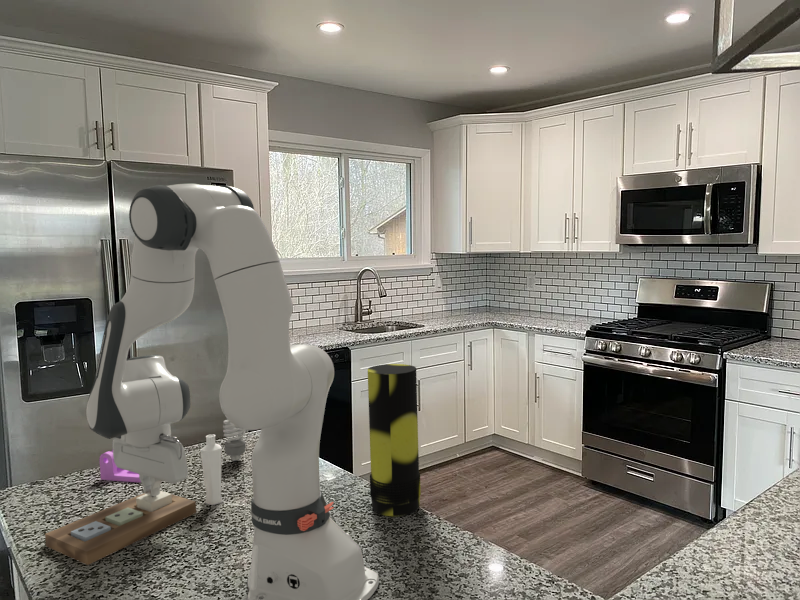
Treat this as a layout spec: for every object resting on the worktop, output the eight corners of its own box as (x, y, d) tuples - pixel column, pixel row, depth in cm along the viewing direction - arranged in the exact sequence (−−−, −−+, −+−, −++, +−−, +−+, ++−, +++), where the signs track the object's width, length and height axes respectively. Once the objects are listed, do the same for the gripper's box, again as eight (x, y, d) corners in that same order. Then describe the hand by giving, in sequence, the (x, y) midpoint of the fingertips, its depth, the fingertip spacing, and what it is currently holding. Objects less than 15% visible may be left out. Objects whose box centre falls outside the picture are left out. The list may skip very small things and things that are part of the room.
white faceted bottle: (219, 506, 131) (215, 439, 129) (200, 505, 132) (196, 438, 130) (229, 497, 135) (225, 432, 134) (211, 496, 136) (207, 432, 135)
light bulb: (234, 466, 154) (232, 421, 153) (220, 462, 158) (217, 418, 156) (251, 459, 159) (249, 415, 158) (236, 456, 162) (234, 413, 161)
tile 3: (111, 538, 116) (110, 526, 116) (86, 550, 112) (85, 537, 112) (96, 533, 119) (95, 520, 119) (71, 544, 115) (70, 531, 114)
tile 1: (172, 505, 128) (171, 493, 128) (151, 514, 124) (150, 502, 124) (157, 500, 131) (156, 489, 130) (136, 509, 126) (136, 497, 126)
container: (431, 504, 129) (428, 367, 126) (397, 522, 121) (393, 376, 118) (394, 491, 136) (390, 361, 133) (360, 508, 128) (355, 370, 125)
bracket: (100, 480, 148) (98, 452, 148) (116, 471, 154) (114, 445, 153) (146, 483, 145) (144, 455, 145) (160, 474, 151) (159, 448, 150)
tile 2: (143, 524, 122) (142, 512, 122) (121, 534, 118) (120, 521, 118) (128, 518, 125) (127, 506, 125) (106, 528, 121) (105, 516, 120)
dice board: (196, 512, 128) (195, 501, 128) (87, 565, 108) (86, 551, 107) (154, 499, 135) (154, 488, 135) (46, 546, 115) (44, 533, 115)
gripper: (193, 434, 123) (197, 498, 124) (132, 420, 134) (135, 480, 135) (167, 443, 118) (171, 510, 119) (105, 428, 128) (109, 490, 129)
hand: (152, 494), depth 127 cm, fingers closed
